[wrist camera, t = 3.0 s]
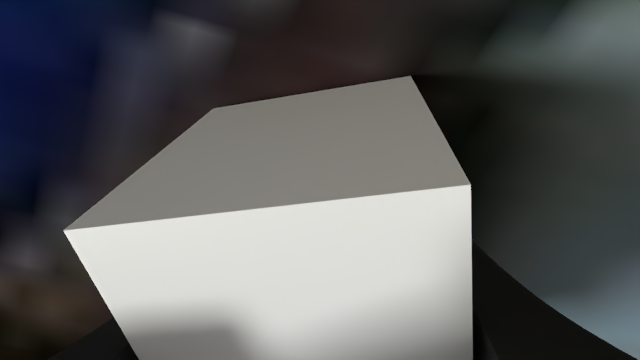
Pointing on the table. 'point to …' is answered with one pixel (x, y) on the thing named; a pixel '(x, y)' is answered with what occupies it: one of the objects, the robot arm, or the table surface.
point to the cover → (292, 235)
